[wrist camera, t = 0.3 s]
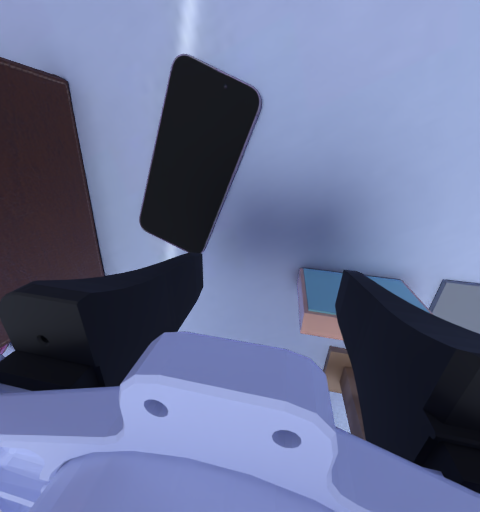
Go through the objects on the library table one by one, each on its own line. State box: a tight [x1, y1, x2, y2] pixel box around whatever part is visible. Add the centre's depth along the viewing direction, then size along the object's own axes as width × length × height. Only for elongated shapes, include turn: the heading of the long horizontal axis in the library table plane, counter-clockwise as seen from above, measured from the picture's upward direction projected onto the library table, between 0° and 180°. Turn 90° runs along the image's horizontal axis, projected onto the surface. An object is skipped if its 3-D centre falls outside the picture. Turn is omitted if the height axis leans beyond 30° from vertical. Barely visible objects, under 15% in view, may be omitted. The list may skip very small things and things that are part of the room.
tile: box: [297, 268, 433, 340], centre depth 18 cm, size 2×9×7 cm, turn 87°
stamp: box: [323, 346, 366, 441], centre depth 22 cm, size 6×6×8 cm
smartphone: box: [139, 54, 262, 253], centre depth 20 cm, size 7×1×15 cm
